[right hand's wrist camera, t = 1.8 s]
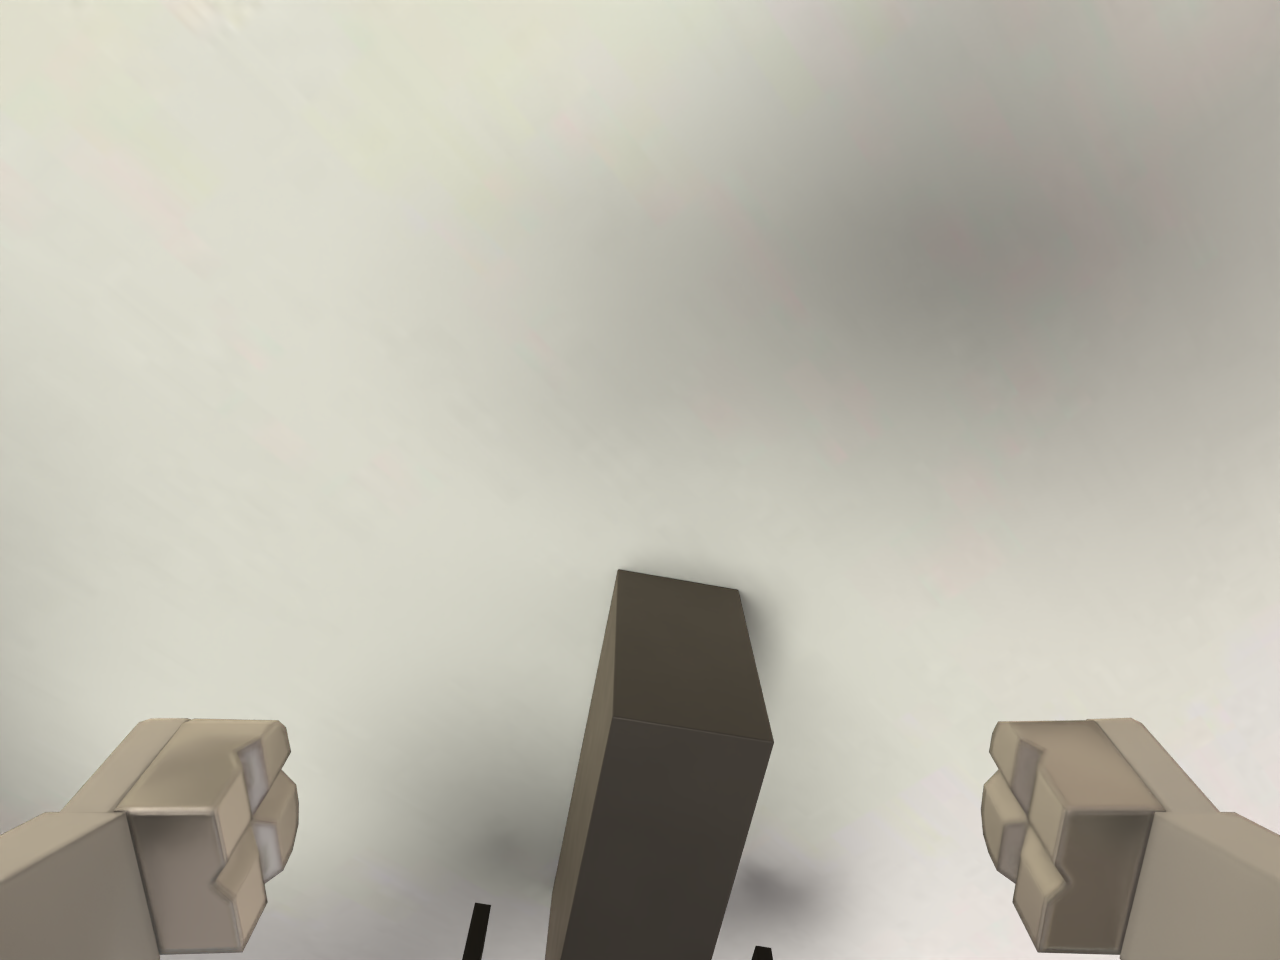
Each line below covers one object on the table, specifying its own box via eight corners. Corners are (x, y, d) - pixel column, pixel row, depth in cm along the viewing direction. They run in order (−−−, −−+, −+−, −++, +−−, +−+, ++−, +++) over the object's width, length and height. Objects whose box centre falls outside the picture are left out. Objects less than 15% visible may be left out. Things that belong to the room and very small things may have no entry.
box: (617, 569, 44) (612, 716, 32) (738, 589, 44) (774, 742, 33) (552, 894, 50) (528, 1109, 39) (656, 909, 51) (663, 1126, 40)
